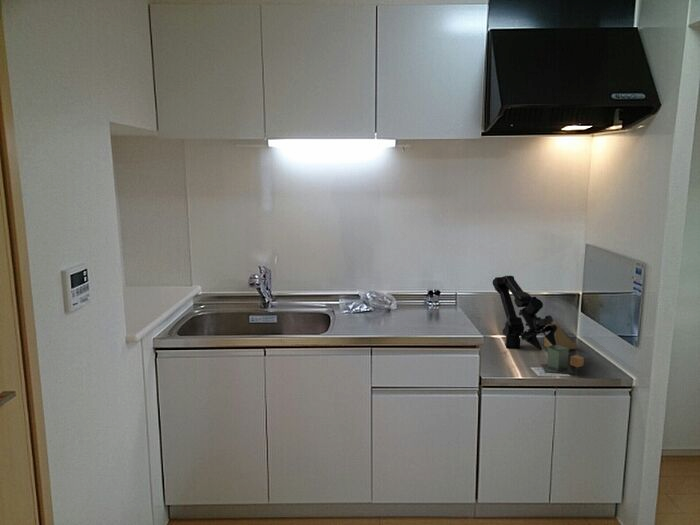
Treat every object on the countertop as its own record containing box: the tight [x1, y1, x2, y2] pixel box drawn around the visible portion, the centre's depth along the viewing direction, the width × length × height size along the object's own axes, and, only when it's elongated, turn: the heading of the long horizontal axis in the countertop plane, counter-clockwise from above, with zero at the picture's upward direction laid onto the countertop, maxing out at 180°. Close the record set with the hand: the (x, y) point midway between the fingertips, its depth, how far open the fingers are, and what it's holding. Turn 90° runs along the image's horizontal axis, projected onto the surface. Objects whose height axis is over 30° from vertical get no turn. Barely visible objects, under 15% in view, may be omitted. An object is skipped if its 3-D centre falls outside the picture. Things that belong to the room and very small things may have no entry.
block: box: [569, 354, 585, 368], centre depth 227 cm, size 4×4×4 cm
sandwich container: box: [543, 320, 580, 350], centre depth 250 cm, size 9×15×15 cm, turn 104°
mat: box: [540, 363, 575, 375], centre depth 222 cm, size 12×9×1 cm
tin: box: [546, 344, 570, 372], centre depth 221 cm, size 6×6×10 cm
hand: (548, 348), depth 226 cm, fingers open, 9 cm apart
